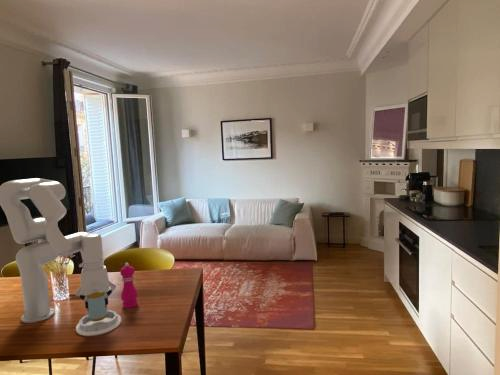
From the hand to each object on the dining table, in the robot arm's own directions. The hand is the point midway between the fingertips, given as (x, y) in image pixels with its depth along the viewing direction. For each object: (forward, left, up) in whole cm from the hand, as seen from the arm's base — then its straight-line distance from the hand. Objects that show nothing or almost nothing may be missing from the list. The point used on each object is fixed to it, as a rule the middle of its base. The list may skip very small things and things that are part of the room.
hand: (97, 307), depth 143 cm
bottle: (0, 0, -5) cm, 5 cm away
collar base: (0, 0, -7) cm, 7 cm away
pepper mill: (-3, +19, -8) cm, 21 cm away
